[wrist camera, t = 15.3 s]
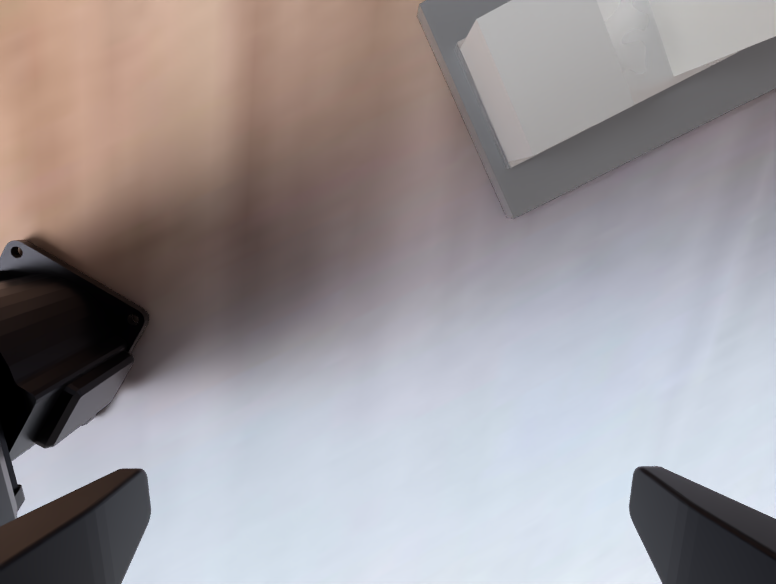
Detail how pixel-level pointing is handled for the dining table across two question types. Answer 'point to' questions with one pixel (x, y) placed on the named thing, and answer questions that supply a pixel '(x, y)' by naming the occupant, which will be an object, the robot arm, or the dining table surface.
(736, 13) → the block
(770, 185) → the dining table surface
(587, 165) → the rail board
